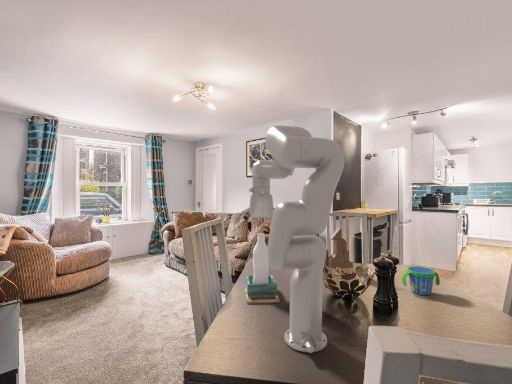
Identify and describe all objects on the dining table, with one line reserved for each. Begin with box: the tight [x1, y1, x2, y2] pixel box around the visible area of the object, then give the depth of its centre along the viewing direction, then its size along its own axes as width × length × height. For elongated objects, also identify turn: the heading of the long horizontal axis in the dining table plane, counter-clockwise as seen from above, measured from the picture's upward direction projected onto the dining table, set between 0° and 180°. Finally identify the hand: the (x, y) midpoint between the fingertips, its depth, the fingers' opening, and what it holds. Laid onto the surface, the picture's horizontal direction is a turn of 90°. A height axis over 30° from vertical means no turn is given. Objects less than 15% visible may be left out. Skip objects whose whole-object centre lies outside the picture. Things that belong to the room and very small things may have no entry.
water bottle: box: [252, 232, 270, 284], centre depth 116 cm, size 7×7×25 cm
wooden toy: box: [324, 226, 354, 269], centre depth 144 cm, size 15×7×25 cm, turn 109°
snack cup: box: [401, 266, 441, 296], centre depth 118 cm, size 16×10×10 cm
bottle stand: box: [244, 274, 281, 305], centre depth 115 cm, size 16×13×6 cm
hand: (261, 231), depth 116 cm, fingers open, 9 cm apart
